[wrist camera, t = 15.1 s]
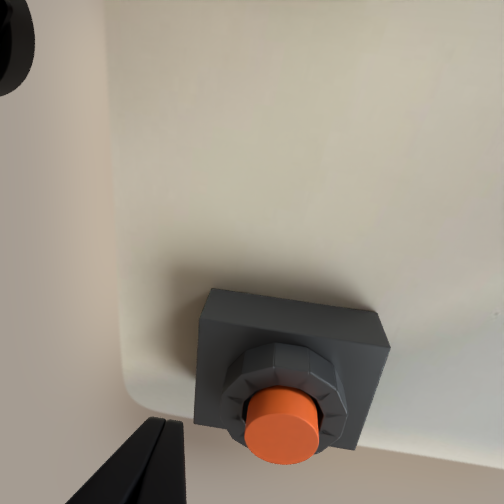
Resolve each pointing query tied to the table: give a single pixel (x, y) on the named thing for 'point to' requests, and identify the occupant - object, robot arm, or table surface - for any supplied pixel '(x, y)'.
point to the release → (287, 361)
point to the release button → (282, 425)
